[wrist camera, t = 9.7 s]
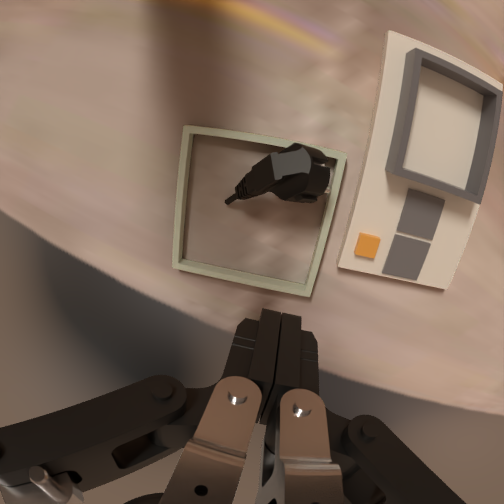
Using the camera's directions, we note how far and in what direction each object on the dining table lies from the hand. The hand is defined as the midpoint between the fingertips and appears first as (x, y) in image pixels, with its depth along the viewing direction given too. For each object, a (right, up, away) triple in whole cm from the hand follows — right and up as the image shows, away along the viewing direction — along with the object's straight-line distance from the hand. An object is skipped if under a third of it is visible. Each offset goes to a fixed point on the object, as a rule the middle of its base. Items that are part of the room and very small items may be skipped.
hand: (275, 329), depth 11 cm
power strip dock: (+19, +13, +18) cm, 29 cm away
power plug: (-1, +9, +25) cm, 26 cm away
